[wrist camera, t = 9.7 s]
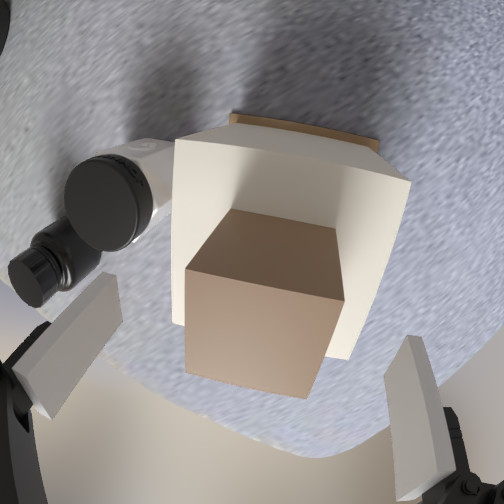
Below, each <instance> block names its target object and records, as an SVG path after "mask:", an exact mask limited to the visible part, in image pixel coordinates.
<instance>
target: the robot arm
mask: <svg viewBox="0 0 504 504" xmlns="http://www.w3.org/2000/svg"><path fill="white" fill-rule="evenodd" d="M8 26H9V9H8V6H7V4H6V3H5V2H4V1H2V0H0V54H1V52H2V49H3V47H4V44H5V40H6V36H7V32H8ZM122 322H123V320H122V313H121V307H120V300H119V293H118V286H117V278H116V275H112V274H109V273H105V272H102V273H101V274H100V275H99V276H98V277H97V278H96V279H95V280H94V281H93V282H92V283H91V284H90V285H89V286H88V287H87V288H86V289H85V290H84V291H83V292H82V293H81V294H80V295H79V296H78V297H77V298H76V299H75V300H74V301H73V302H72V303H71V304H70V305H69V306H68V307H67V308H66V309H65V310H64V311H63V312H62V313H61V314H60V315H59V316H58V317H57V318H56V320H55V321H54V322H53V323H50V322H48V321H46V322H44V323H43V324H41V325H40V326H37V327H36V328H35V329H34V330H33V332H32V333H31V334H30V336H28V337H27V338H26V339H25V340H24V342H23V343H21V345H19V347H18V348H17V349H16V350H15V351H14V352H13V353H12V354H11V355H10V357H9V358H8V359H7V360H6V361H5V362H4V363H3V364H2V362H1V360H0V504H48V502H47V498H46V494H45V490H44V486H43V481H42V477H41V473H40V467H39V462H38V457H37V450H36V444H35V437H34V430H33V421H32V413H31V410H30V408H31V407H32V405H34V407H35V408H36V410H37V411H38V413H40V414H42V415H43V416H45V417H47V418H48V419H50V420H53V418H54V417H55V415H56V414H57V413H58V411H59V410H60V408H61V407H62V405H63V404H64V402H65V401H66V399H67V398H68V396H69V395H70V393H71V392H72V390H73V389H74V388H75V386H76V385H77V383H78V382H79V380H80V379H81V378H82V376H83V375H84V373H85V372H86V371H87V369H88V368H89V366H90V365H91V364H92V362H93V361H94V359H95V358H96V357H97V355H98V354H99V353H100V351H101V350H102V348H103V347H104V346H105V344H106V343H107V342H108V340H109V339H110V338H111V336H112V335H113V334H114V332H115V331H116V330H117V328H118V327H119V326H120V324H121V323H122ZM384 381H385V388H386V395H387V402H388V409H389V417H390V426H391V434H392V445H393V455H394V469H395V485H396V501H405V500H414V499H416V498H417V497H419V496H420V495H422V499H423V501H421V502H420V503H418V504H504V480H503V481H502V482H500V483H499V484H497V485H493V484H487V483H482V482H481V480H480V478H479V477H478V476H477V475H476V474H474V473H472V472H470V469H469V465H468V459H467V455H466V451H465V446H464V441H463V439H462V433H461V430H460V425H459V421H458V417H457V416H456V414H455V413H454V411H453V410H452V408H451V407H442V403H441V399H440V395H439V391H438V388H437V384H436V381H435V377H434V374H433V371H432V368H431V364H430V361H429V358H428V355H427V352H426V349H425V346H424V343H423V340H422V337H419V336H412V335H407V336H406V338H405V340H404V342H403V343H402V345H401V347H400V349H399V351H398V352H397V354H396V356H395V358H394V360H393V361H392V363H391V365H390V366H389V368H388V370H387V372H386V373H385V375H384Z"/></svg>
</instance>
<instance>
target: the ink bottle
mask: <svg viewBox="0 0 504 504" xmlns="http://www.w3.org/2000/svg"><path fill="white" fill-rule="evenodd" d="M100 257H101V250H98V249H95V248H93V247H92V246H90V245H88V244H87V243H86V242H85V241H83V240H82V239H81V238H80V236H79V235H78V234H77V233H76V231H75V230H74V228H73V227H72V225H71V223H70V221H69V219H68V216H64V217H62V218H60V219H59V220H57V221H55V222H54V223H52V224H50V225H49V226H47V227H45V228H44V229H42V230H41V231H39V232H38V233H37V234H35V236H34V237H33V239H32V241H31V245H30V248H28V249H27V250H25V251H24V252H22V253H21V254H19V255H18V256H16V257H15V258H14V259H12V260H11V261H10V263H9V265H8V275H9V278H10V281H11V284H12V286H13V287H14V289H15V291H16V293H17V294H18V295H19V296H20V298H21V299H22V300H23V301H24V302H26V303H27V304H28V305H29V306H32V307H34V308H38V307H41V306H42V305H44V304H45V303H46V302H47V301H48V300H49V299H50V298H51V297H52V296H53V295H54V294H55V293H56V292H57V291H62V292H65V291H69V290H71V289H73V288H74V287H75V286H76V285H77V284H78V283H79V282H80V281H81V280H83V279H84V278H85V277H86V276H87V275H88V274H89V273H90V272H91V271H93V270H94V269H95V268H96V267H97V265H98V264H99V261H100Z"/></svg>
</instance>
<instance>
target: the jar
mask: <svg viewBox="0 0 504 504" xmlns="http://www.w3.org/2000/svg"><path fill="white" fill-rule="evenodd" d="M174 150H175V142H170V141H164V140H158V139H151V138H143V139H140V140H136V141H132V142H129V143H125V144H122V145H119V146H115V147H112V148H109V149H105V150H102V151H99V152H97V153H96V155H95V157H92V158H90V159H87V160H86V161H84V162H82V163H80V164H79V165H78V166H76V167H75V168H74V169H73V171H72V172H71V174H70V175H69V177H68V180H67V182H66V186H65V193H64V202H65V209H66V213H67V216H68V219H69V221H70V223H71V225H72V227H73V228H74V230H75V231H76V233H77V234H78V235H79V236H80V238H81V239H82V240H83V241H85V242H86V243H87V244H88V245H90V246H92V247H93V248H95V249H98V250H101V251H106V252H114V251H118V250H121V249H123V248H125V247H126V246H128V245H129V244H130V243H131V242H136V241H138V240H139V239H140V238H141V237H142V236H143V235H145V234H146V233H147V232H148V231H149V230H150V229H152V228H153V227H154V226H155V225H156V224H157V223H159V222H160V221H161V220H162V219H163V218H165V217H166V216H167V215H168V214H169V213H171V212H172V188H173V167H174Z"/></svg>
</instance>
